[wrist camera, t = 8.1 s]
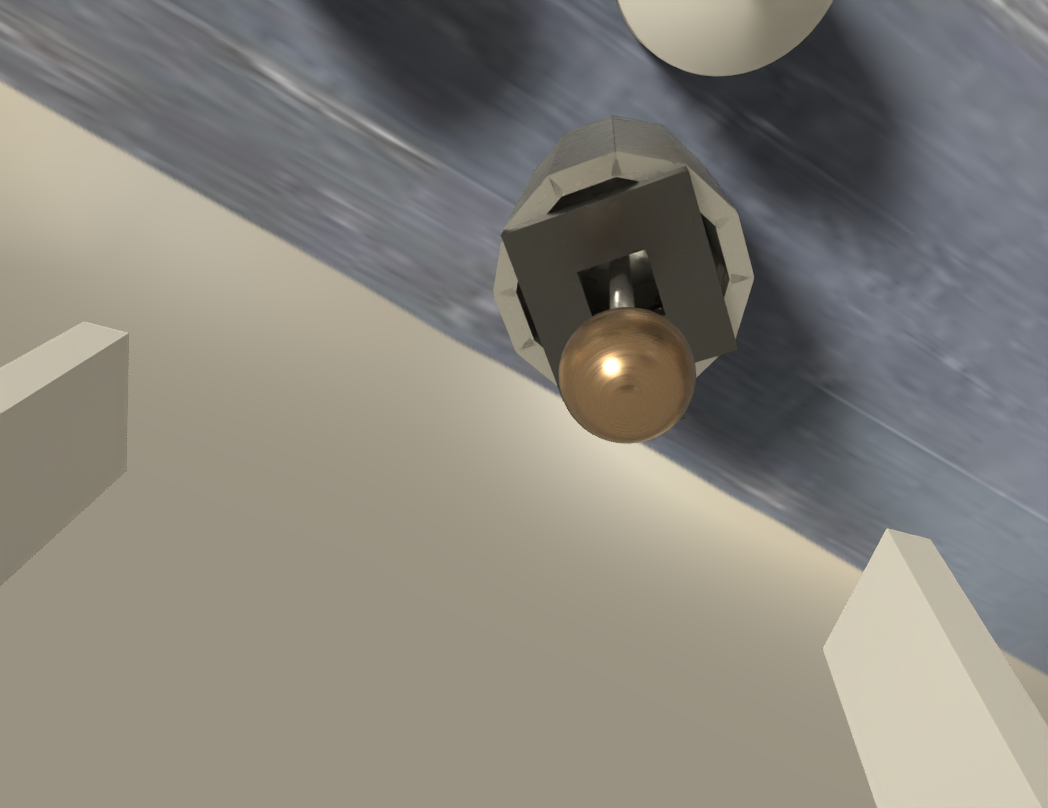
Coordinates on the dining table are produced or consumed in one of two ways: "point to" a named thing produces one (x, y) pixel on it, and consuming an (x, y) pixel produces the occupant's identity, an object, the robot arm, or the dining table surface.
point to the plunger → (624, 349)
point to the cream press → (721, 31)
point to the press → (622, 242)
